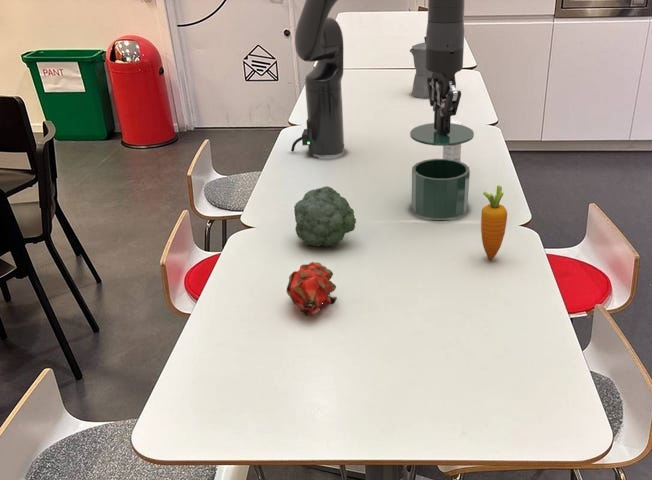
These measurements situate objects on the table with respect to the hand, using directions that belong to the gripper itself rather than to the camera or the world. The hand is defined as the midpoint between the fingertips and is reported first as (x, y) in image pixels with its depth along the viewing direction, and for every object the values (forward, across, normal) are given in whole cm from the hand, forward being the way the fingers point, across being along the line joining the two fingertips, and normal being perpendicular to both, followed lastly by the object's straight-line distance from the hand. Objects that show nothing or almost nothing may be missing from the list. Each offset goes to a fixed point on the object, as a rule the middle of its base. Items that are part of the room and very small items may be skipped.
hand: (441, 131), depth 150 cm
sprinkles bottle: (+18, -18, +10) cm, 27 cm away
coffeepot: (+18, -88, +31) cm, 95 cm away
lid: (+1, 0, 0) cm, 1 cm away
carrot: (+18, +26, +1) cm, 32 cm away
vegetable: (+18, +6, -28) cm, 34 cm away
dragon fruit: (+18, +32, -37) cm, 52 cm away
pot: (+18, 0, 0) cm, 18 cm away
